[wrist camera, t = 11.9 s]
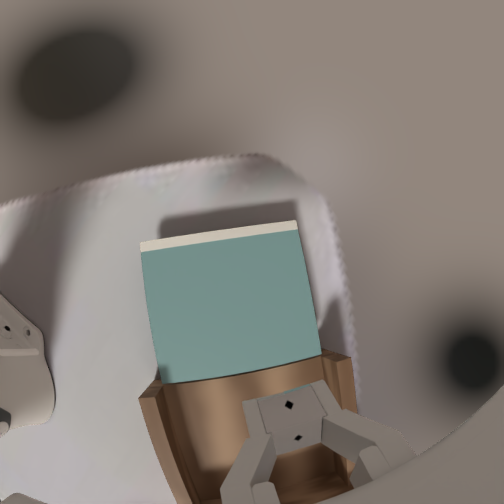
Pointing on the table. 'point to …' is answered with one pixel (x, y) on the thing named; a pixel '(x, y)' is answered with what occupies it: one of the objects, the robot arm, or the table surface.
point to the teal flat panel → (228, 301)
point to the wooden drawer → (243, 431)
